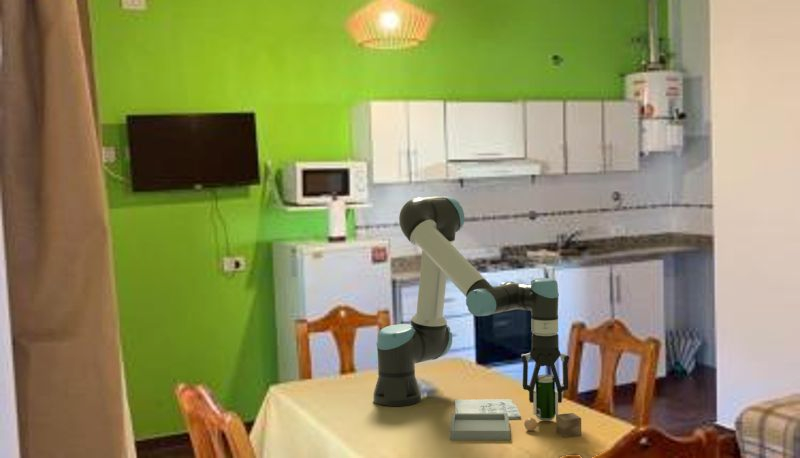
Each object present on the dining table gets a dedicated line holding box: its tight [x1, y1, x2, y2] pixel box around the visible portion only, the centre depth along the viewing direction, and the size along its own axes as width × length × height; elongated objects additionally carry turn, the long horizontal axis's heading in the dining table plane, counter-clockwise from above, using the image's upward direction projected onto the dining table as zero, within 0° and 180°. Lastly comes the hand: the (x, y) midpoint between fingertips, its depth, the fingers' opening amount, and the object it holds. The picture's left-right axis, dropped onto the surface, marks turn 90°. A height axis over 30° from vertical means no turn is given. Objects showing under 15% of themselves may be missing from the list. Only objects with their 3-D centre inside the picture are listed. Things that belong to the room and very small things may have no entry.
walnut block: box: [555, 412, 582, 439], centre depth 223 cm, size 5×5×5 cm
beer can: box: [535, 374, 556, 422], centre depth 235 cm, size 5×5×12 cm
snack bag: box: [453, 398, 522, 420], centre depth 248 cm, size 19×20×2 cm
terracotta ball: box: [523, 417, 538, 432], centre depth 227 cm, size 4×4×4 cm
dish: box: [449, 413, 511, 441], centre depth 229 cm, size 16×16×2 cm
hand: (545, 413), depth 235 cm, fingers closed on beer can, 5 cm apart
